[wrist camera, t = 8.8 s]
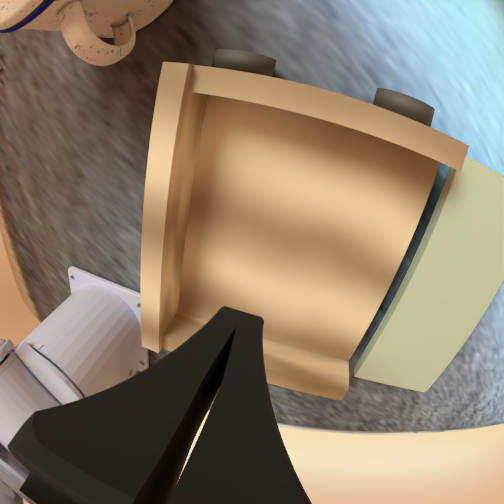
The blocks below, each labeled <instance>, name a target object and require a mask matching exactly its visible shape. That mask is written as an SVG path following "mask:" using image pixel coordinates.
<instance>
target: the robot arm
mask: <svg viewBox="0 0 504 504" xmlns="http://www.w3.org/2000/svg"><path fill="white" fill-rule="evenodd" d="M68 273H69V280H70V287H71V293H72V295H71V296H69V297H68V298H67V299H66V300H65V301H64V302H63V303H62V304H61V305H60V306H59V307H58V308H56V309H55V310H54V311H53V312H52V313H51V314H50V315H49V316H48V317H47V318H46V319H45V320H44V321H43V322H42V323H41V324H40V325H39V326H38V327H37V328H36V329H34V330H33V332H31V333H30V334H29V336H27V337H26V338H25V339H24V340H23V341H22V342H21V343H20V344H18V345H17V346H16V347H14V344H13V343H12V342H11V340H9V339H8V340H4V339H0V504H23V501H26V502H28V503H30V504H312V503H311V501H310V500H309V498H308V496H307V494H306V493H305V491H304V489H303V487H302V485H301V483H300V481H299V478H298V476H297V474H296V472H295V470H294V468H293V465H292V463H291V461H290V458H289V456H288V453H287V451H286V449H285V446H284V443H283V441H282V438H281V435H280V432H279V429H278V426H277V422H276V419H275V415H274V412H273V408H272V404H271V400H270V395H269V390H268V385H267V379H266V373H265V364H264V356H263V325H264V320H263V318H262V317H260V316H256V315H253V314H250V313H246V312H243V311H240V310H237V309H233V308H230V307H227V306H224V307H221V308H220V309H219V311H218V312H217V313H216V314H215V315H214V316H213V317H212V318H211V319H210V320H209V321H208V322H207V323H206V324H205V325H204V326H203V327H202V328H201V329H199V330H198V331H197V332H196V333H195V334H194V335H192V336H191V337H190V338H189V339H188V340H186V341H185V342H184V343H183V344H181V345H180V346H179V347H177V348H176V349H175V350H173V351H172V352H171V353H169V354H168V355H166V356H165V357H164V358H162V359H161V360H159V361H158V362H156V363H155V364H153V365H151V366H150V367H149V359H148V349H147V348H145V347H142V338H141V305H140V304H141V293H139V292H136V291H133V290H131V289H128V288H126V287H123V286H120V285H118V284H115V283H113V282H110V281H108V280H105V279H103V278H100V277H98V276H96V275H93V274H91V273H88V272H86V271H84V270H81V269H79V268H76V267H74V266H71V267H70V268H69V269H68ZM13 347H14V348H13ZM12 348H13V349H12ZM137 370H138V371H141V372H140V373H138V374H136V375H135V373H136V372H137ZM220 385H221V386H220ZM219 387H220V388H219ZM218 389H219V391H218ZM217 391H218V393H217ZM216 394H217V395H216ZM215 396H216V398H215ZM214 398H215V400H214ZM213 400H214V403H213V405H212V407H211V410H210V412H209V414H208V417H207V419H206V421H205V424H204V426H203V428H202V431H201V433H200V436H199V437H198V440H197V442H196V444H195V447H194V449H193V451H192V453H191V455H190V458H189V459H188V462H187V464H186V466H185V468H184V470H183V472H182V474H181V471H182V469H183V466H184V463H185V461H186V458H187V456H188V453H189V450H190V448H191V445H192V443H193V440H194V438H195V436H196V434H197V431H198V429H199V427H200V425H201V423H202V421H203V419H204V417H205V415H206V414H207V412H208V410H209V408H210V406H211V404H212V402H213ZM180 474H181V476H180ZM179 476H180V479H179ZM178 479H179V481H178ZM177 482H178V483H177ZM176 484H177V485H176Z"/></svg>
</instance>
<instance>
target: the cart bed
mask: <svg viewBox="0 0 504 504" xmlns="http://www.w3.org/2000/svg"><path fill="white" fill-rule="evenodd" d="M275 65H276V60H275V59H273V58H270V57H267V56H264V55H260V54H256V53H252V52H247V51H241V50H233V49H216V51H215V55H214V60H213V64H212V67H208V66H199V65H192V64H187V63H175V62H163V64H162V69H161V74H160V79H159V85H158V90H157V96H156V102H155V108H154V115H153V122H152V129H151V136H150V144H149V153H148V162H147V171H146V182H145V193H144V207H143V222H142V243H141V338H142V347H145V348H147V349H150V350H152V351H155V352H157V353H159V352H160V350H161V349H162V348H163V349H166V350H169V351H171V352H172V351H173V350H175V349H176V348H177V347H179V346H180V345H181V344H183V343H184V342H185V341H186V340H188V339H189V338H190V337H191V336H192V335H194V334H195V333H196V332H197V331H198V330H199V329H201V328H202V327H203V326H204V325H205V324H206V323H207V322H208V321H209V320H210V319H211V318H212V317H213V316H214V315H215V314H216V313H217V312H218V311H219V309H220V308H221V307H224V306H227V307H230V308H233V309H237V310H240V311H243V312H246V313H250V314H253V315H256V316H260V317H262V318H263V320H264V325H263V356H264V364H265V373H266V379H267V383H269V384H273V385H277V386H280V387H284V388H288V389H292V390H296V391H300V392H304V393H308V394H313V395H317V396H321V397H326V398H331V399H335V400H340V401H341V400H342V399H343V398H344V396H345V395H346V393H347V392H348V391H349V360H350V358H351V357H352V355H353V353H354V351H355V350H356V348H357V346H358V345H359V343H360V341H361V339H362V338H363V336H364V334H365V332H366V331H367V329H368V327H369V325H370V323H371V322H372V320H373V318H374V316H375V314H376V312H377V310H378V308H379V307H380V305H381V303H382V301H383V299H384V297H385V295H386V293H387V291H388V289H389V287H390V285H391V283H392V281H393V279H394V277H395V274H396V272H397V270H398V268H399V266H400V264H401V262H402V259H403V257H404V255H405V253H406V251H407V248H408V246H409V244H410V241H411V239H412V237H413V234H414V232H415V230H416V227H417V225H418V222H419V220H420V217H421V215H422V212H423V210H424V207H425V204H426V202H427V199H428V197H429V194H430V191H431V188H432V186H433V183H434V180H435V177H436V174H437V171H438V168H439V165H440V162H441V163H443V164H445V165H447V166H450V167H452V168H454V169H456V170H458V171H460V172H461V169H462V166H463V163H464V160H465V157H466V154H467V150H468V147H469V146H468V145H466V144H464V143H462V142H460V141H458V140H456V139H454V138H452V137H450V136H448V135H446V134H444V133H442V132H440V131H437V130H435V129H433V128H431V127H430V126H431V122H432V118H433V115H434V111H435V109H434V108H433V107H431V106H429V105H428V104H426V103H424V102H422V101H420V100H418V99H415V98H413V97H410V96H408V95H405V94H402V93H399V92H396V91H392V90H388V89H383V88H377V91H376V95H375V99H374V103H373V105H372V104H370V103H367V102H364V101H361V100H358V99H355V98H351V97H348V96H345V95H342V94H338V93H335V92H331V91H328V90H324V89H321V88H317V87H313V86H309V85H305V84H301V83H297V82H293V81H289V80H284V79H280V78H275V77H273V73H274V69H275Z"/></svg>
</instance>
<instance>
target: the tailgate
mask: <svg viewBox="0 0 504 504" xmlns="http://www.w3.org/2000/svg"><path fill="white" fill-rule="evenodd" d="M503 280H504V176H502V175H500V174H499V173H497V172H495V171H493V170H492V169H490V168H488V167H486V166H484V165H482V164H480V163H479V162H477V161H475V160H473V159H471V158H469V157H467V156H466V157H465V160H464V163H463V166H462V169H461V172H460V171H458V170H456V169H454V168H452V167H450V168H449V171H448V173H447V176H446V179H445V182H444V185H443V188H442V191H441V193H440V196H439V199H438V201H437V204H436V206H435V209H434V212H433V214H432V217H431V219H430V222H429V224H428V226H427V229H426V231H425V234H424V236H423V238H422V240H421V243H420V245H419V247H418V249H417V252H416V254H415V256H414V258H413V260H412V263H411V265H410V267H409V269H408V271H407V273H406V275H405V277H404V279H403V281H402V283H401V285H400V287H399V289H398V291H397V293H396V295H395V297H394V299H393V301H392V303H391V305H390V306H389V308H388V310H387V312H386V314H385V316H384V317H383V319H382V321H381V323H380V325H379V326H378V328H377V330H376V332H375V333H374V335H373V337H372V338H371V340H370V342H369V344H368V345H367V347H366V349H365V350H364V352H363V353H362V355H361V357H360V358H359V360H358V362H357V363H356V365H355V366H354V377H358V378H362V379H366V380H370V381H374V382H379V383H383V384H387V385H392V386H396V387H401V388H406V389H411V390H416V391H421V392H426V391H427V390H428V389H429V388H430V387H431V385H432V384H433V383H434V382H435V381H436V379H437V378H438V377H439V376H440V374H441V373H442V372H443V371H444V369H445V368H446V367H447V366H448V364H449V363H450V362H451V360H452V359H453V358H454V356H455V355H456V354H457V352H458V351H459V350H460V348H461V347H462V346H463V344H464V343H465V341H466V340H467V338H468V337H469V336H470V334H471V333H472V331H473V330H474V328H475V327H476V325H477V324H478V322H479V321H480V319H481V317H482V316H483V314H484V313H485V311H486V309H487V308H488V306H489V305H490V303H491V301H492V300H493V298H494V296H495V294H496V293H497V291H498V289H499V287H500V286H501V284H502V282H503Z"/></svg>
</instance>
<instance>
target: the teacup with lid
mask: <svg viewBox="0 0 504 504" xmlns="http://www.w3.org/2000/svg"><path fill="white" fill-rule="evenodd" d="M172 2H173V0H0V33H8V32H12V31H15V30H18V29H37V30H50V31H60V32H62V35H63V37H64V39H65V41H66V43H67V45H68V46H69V47H70V49H71V50H72V51H73V52H74V53H75V54H76V55H77V56H78V57H79V58H80V59H82V60H83V61H85V62H87V63H89V64H92V65H97V66H107V65H111V64H114V63H116V62H118V61H119V60H121V59H123V58H124V57H125V56H127V55H128V54H129V53H130V52H131V51H132V49H133V47H134V45H135V40H136V33H135V31H137V30H139V29H141V28H143V27H144V26H146V25H148V24H149V23H150V22H152V21H153V20H155V19H156V18H157V17H158V16H159V15H160V14H161V13H163V12H164V11H165V10H166V9H167V7H168V6H169V5H170V4H171V3H172ZM98 37H102V38H114V45H110V44H107V43H105V42H103V41H102V40H101V39H99V38H98Z"/></svg>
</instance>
